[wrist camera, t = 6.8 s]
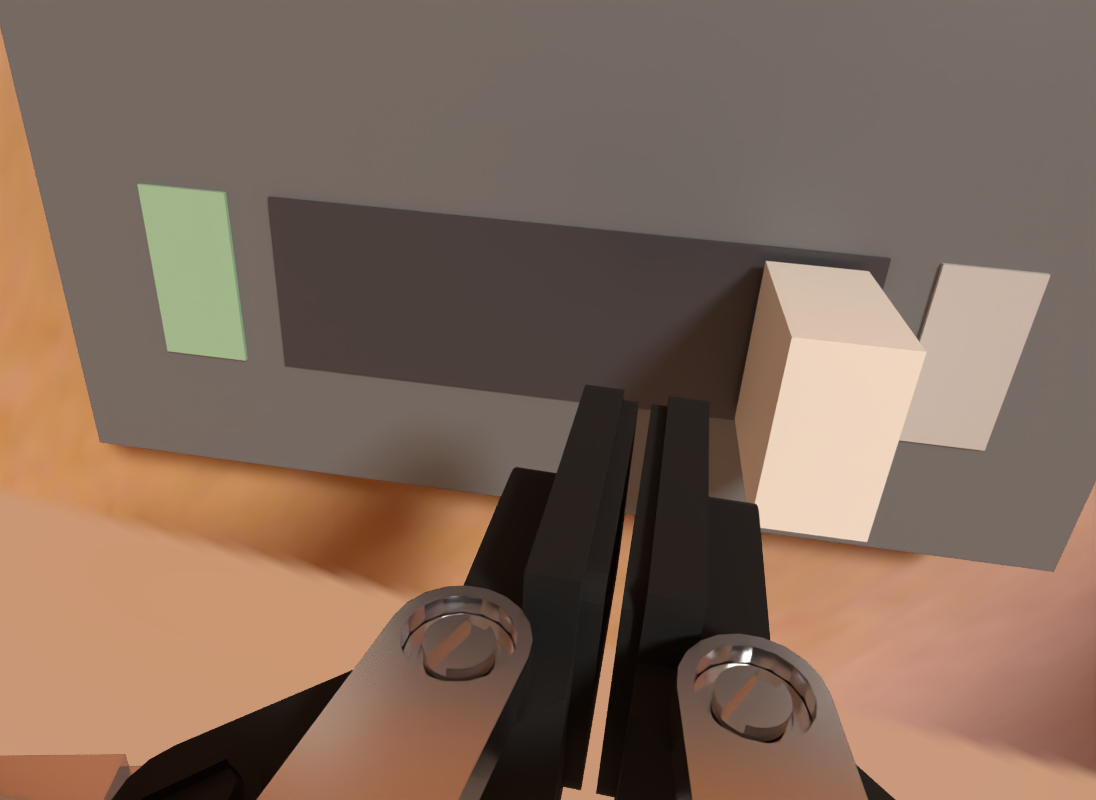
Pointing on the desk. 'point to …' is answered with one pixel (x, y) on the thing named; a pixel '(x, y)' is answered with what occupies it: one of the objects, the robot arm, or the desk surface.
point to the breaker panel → (572, 229)
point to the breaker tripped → (823, 399)
